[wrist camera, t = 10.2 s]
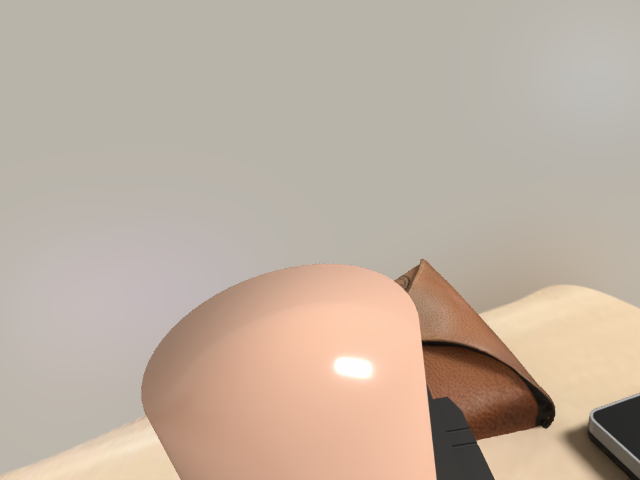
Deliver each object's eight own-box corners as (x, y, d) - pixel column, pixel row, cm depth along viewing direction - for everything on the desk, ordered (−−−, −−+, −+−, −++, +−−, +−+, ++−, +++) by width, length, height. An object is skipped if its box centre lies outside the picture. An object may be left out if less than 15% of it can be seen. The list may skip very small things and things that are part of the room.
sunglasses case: (354, 298, 37) (379, 243, 35) (412, 313, 38) (439, 260, 36) (421, 461, 20) (475, 374, 18) (518, 475, 22) (578, 396, 20)
